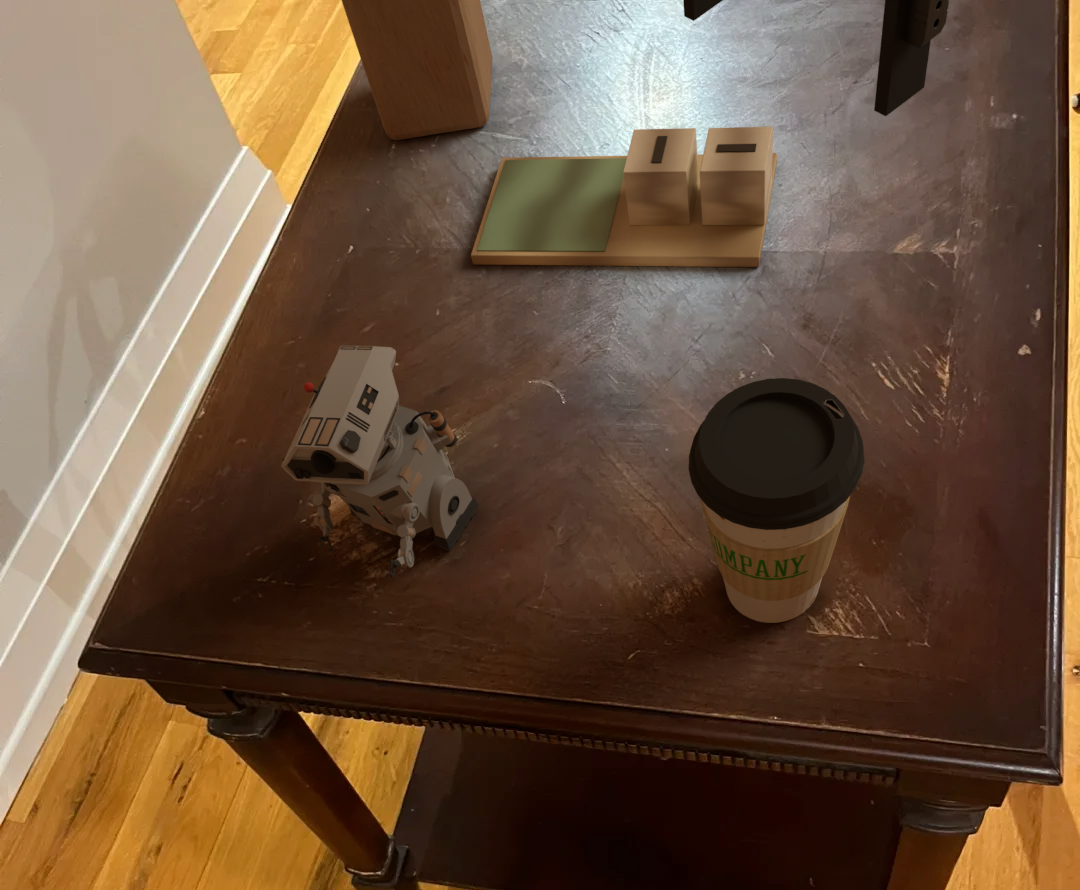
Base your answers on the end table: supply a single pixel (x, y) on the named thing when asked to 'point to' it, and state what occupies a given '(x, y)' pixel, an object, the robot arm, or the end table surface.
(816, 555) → the coffee cup
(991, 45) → the end table surface
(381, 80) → the wooden block
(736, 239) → the word board
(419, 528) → the figurine
